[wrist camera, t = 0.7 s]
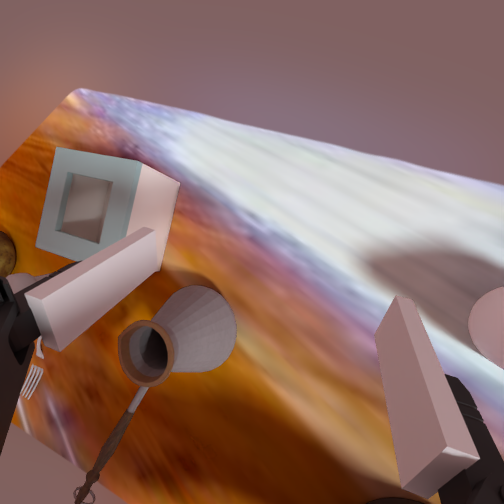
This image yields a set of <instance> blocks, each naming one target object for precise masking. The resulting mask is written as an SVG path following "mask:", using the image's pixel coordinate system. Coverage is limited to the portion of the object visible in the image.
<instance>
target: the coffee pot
mask: <svg viewBox="0 0 504 504" xmlns="http://www.w3.org/2000/svg"><path fill="white" fill-rule="evenodd" d="M236 326H237V325H236V321H235V317H234V313H233V311H232V309H231V307H230V305H229V304H228V302H227V301H226V300H225V299H224V298H223V297H222V295H220V294H219V293H217V292H216V291H214V290H213V289H211V288H208V287H205V286H197V285H191V286H188V287H184V288H182V289H180V290H178V291H177V292H175V293H173V295H172V296H171V297H170V298H169V299H168V300H167V301H166V302H165V304H164V305H163V306H162V307H161V309H160V310H159V311H158V312H157V313H156V315H155V316H154V317H153V318H152V320H151V321H150V320H140V321H136V322H134V323H133V324H131V325H130V326H128V327H127V328H126V329H125V330H124V331H123V332H122V333H121V334H120V335H119V337H118V354H119V360H120V364H121V366H122V369H123V371H124V373H125V374H126V375H127V377H128V378H129V379H130V380H131V381H132V382H133V383H135V384H137V385H139V386H140V388H139V390H138V391H137V393H136V395H135V397H134V399H133V400H132V402H131V404H130V406H129V408H128V409H127V410H126V411H125V413H124V414H123V416H122V417H121V419H120V421H119V422H118V424H117V425H116V427H115V428H114V430H113V431H112V433H111V435H110V436H109V438H108V439H107V441H106V442H105V444H104V445H103V447H102V449H101V451H100V454H99V456H98V458H97V460H96V463H95V465H94V467H93V469H92V470H91V471H89V472H88V473H87V475H86V482H85V484H84V485H83V486H82V487H77V488H76V490H78V489H80V490H79V493H78V495H77V496H76V490H75V491H74V498H75V504H93V503H94V501H95V495H94V493H93V492H92V491H91V490H90V487H91V486H92V484H93V483H95V482H96V481H98V479H99V476H100V474H99V472H100V471H101V470H102V468H103V467H104V466H105V464H106V463H107V461H108V460H109V459H110V457H111V456H112V455H113V453H114V451H115V450H116V448H117V446H118V444H119V442H120V440H121V438H122V436H123V434H124V432H125V430H126V428H127V426H128V424H129V422H130V420H131V419H132V417H133V415H134V411H135V410H136V408H137V407H138V405H139V403H140V402H141V400H142V398H143V397H144V395H145V393H146V392H147V390H148V388H149V387H153V386H157V385H159V384H161V383H163V382H164V381H165V380H166V379H167V378H168V376H169V374H170V372H205V371H210V370H212V369H214V368H216V367H218V366H220V365H221V364H222V363H223V362H224V361H225V360H226V359H228V357H229V355H230V353H231V352H232V350H233V348H234V344H235V340H236ZM88 493H91V495H92V496H93V502H92V503H84V502H82V501H83V500H84V498H85V497H86V496H87V494H88Z"/></svg>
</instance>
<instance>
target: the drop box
mask: <svg viewBox="0 0 504 504" xmlns="http://www.w3.org/2000/svg"><path fill="white" fill-rule="evenodd" d="M179 187H180V183H179V182H178V181H176V180H174V179H172V178H170V177H168V176H166V175H164V174H162V173H160V172H158V171H156V170H154V169H152V168H151V167H149V166H147V165H145V164H143V163H141V162H139V161H135V160H130V159H124V158H118V157H112V156H106V155H101V154H95V153H89V152H83V151H78V150H72V149H66V148H60V147H56V152H55V156H54V161H53V166H52V170H51V175H50V180H49V184H48V189H47V194H46V198H45V203H44V208H43V212H42V217H41V222H40V226H39V231H38V236H37V240H36V245H35V247H37V248H40V249H43V250H46V251H48V252H51V253H54V254H57V255H60V256H63V257H65V258H68V259H71V260H74V261H77V262H78V261H81V260H82V261H83V260H85V259H87V258H89V257H91V256H92V255H94V254H96V253H98V252H99V251H101V250H103V249H105V248H107V247H108V246H110V245H112V244H114V243H116V242H117V241H119V240H121V239H123V238H124V237H126V236H128V235H130V234H132V233H133V232H135V231H137V230H139V229H140V228H142V227H147V228H150V229H154V230H155V232H156V250H157V267H158V270H156V271H160V268H161V264H162V260H163V255H164V251H165V247H166V243H167V238H168V234H169V230H170V226H171V221H172V217H173V213H174V209H175V204H176V200H177V196H178V192H179ZM156 271H155V272H156Z"/></svg>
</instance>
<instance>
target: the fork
mask: <svg viewBox="0 0 504 504" xmlns="http://www.w3.org/2000/svg"><path fill="white" fill-rule="evenodd" d="M41 339H42V337H41V336H40V337H38V341H37V353H36V355H37V356H39V357H41V358H42V359H44V356H43V353H42V351H41V348H40V343H41ZM33 367H34V371H33V374H32V376H31V378H30V380H29V382H28V384H27V387H26V389H25V390H24V392H23V394H22V396H23V395H24V394H25V392H26V390H27V388H28V387H29V385H30V382H31V380H32V378H33V376H34V374H35V372H36V369H37V366H34V365H33V364H32V366H31V369H30V372H29V374H28V377H27V379H26V381H25V383H24V385H23V387H22V389H21V392H20V394H21V393H22V391H23V389H24V387H25V385H26V383H27V381H28V379H29V377H30V375H31V372H32V370H33ZM40 370H41V373H40V376H39V378H38V380H37V382H36V384H35V386H34V388H33V390H32V391H31V393H30V395H29V397H28V400H29V398H30V397H31V395H32V393H33V391H34V390H35V388H36V386H37V384H38V382H39V380H40V378H41V376H42V374H43V369H42V368H40V367H38V370H37V373H36V376H35V378H34V380H33V382H32V384H31V386H30V388H29V390H28V392H27V394H26V396H25V398H26V397H27V395H28V394H29V392H30V390H31V388H32V386H33V384H34V382H35V380H36V378H37V376H38V374H39V371H40Z"/></svg>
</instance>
